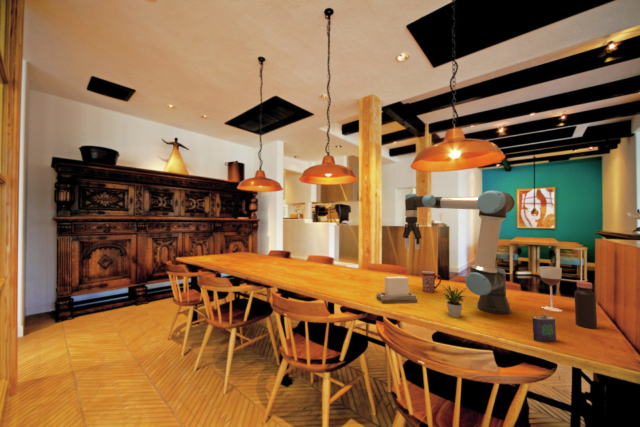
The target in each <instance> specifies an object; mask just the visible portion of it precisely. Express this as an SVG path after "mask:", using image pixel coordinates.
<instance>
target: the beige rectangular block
mask: <svg viewBox="0 0 640 427" xmlns="http://www.w3.org/2000/svg"><path fill="white" fill-rule="evenodd" d="M384 292H385V296H398V295H408V292H409V278H408V277H407V276H384Z"/></svg>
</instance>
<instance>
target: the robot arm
mask: <svg viewBox="0 0 640 427" xmlns="http://www.w3.org/2000/svg"><path fill="white" fill-rule="evenodd" d="M404 197H405V198H404V199H405V200H404V205H405V206H404V207H405V212H404V214H405V215H404V216H405V224H404V229H403V234H402V237H403V238H404V248H405V249H409V248H410V237H409V236H410V235H411V232H412V233H413V236H414V250H420V246H421V245H420V240H421V239H422V234H421V229H420V226H419V223H418V208H430V209H431V208H433V209H449V210H450V209H453V210H454V209H455V210H457V209H459V210H476V211H477V210H478V216H479V218H480V219H481V220H480V227H479V235H478V240H477V248H476V253H475V259H474V264H471V265H470V268H469V269H470V271H469V273H468V274H467V275H466V276H465V279H464V282H465V286H466V288H467V289H468V290H469V291H470V292H471V293H472V294H474V295H478V296H479V297H478V300H477V303H476V305H477V309H479V310H481V311H484V312H487V313H491V314H498V315H509V314H511V312H512V311H511V306H510V303H509V301H508V299H507V281H506V280H507V275H506V271H505V269H504V268H497V267H496V268H495V266H496V258H497V252H498V247H499V246H498V245H499V239H500V233H501V227H502V222H503V221H504V220H506V219H507V214H508V213H510V212H511V211H512V210H514V207H515V205H516V202H515V198H514V197H513V195H511V194H509V193H507V192H505V191H504V192H503V191H499V190H486V191H485V192H482V193H481V194H480V195H479V196H434V195H433V194H424V195H417V193H407V194H405V196H404Z"/></svg>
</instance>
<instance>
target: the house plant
mask: <svg viewBox="0 0 640 427" xmlns="http://www.w3.org/2000/svg"><path fill="white" fill-rule="evenodd" d="M456 284H457V283H455V284H454V287H453V290H452V289H451V286H450V285H449V284H447V285H446V287H447V288H446V287H444V285H442V284H441V283H440V284H439V286H440V285H441V286H442V287H441V289H442V290H443V291H444V292H445V293H443V294H442V296H444V298H445V300H448V301H446V307H447V312H448V315H449V316H450V317H452V318H461V313H462V308H463V304H462V303H464V298H465V297H467V296H464V295H461V294H462V293H463V292H464V291H465V290H466V289H468V288H467V287H466V288H463V289H462V290H460V292H459V286H457V287H456ZM455 287H456V288H455ZM460 301H461V302H460Z"/></svg>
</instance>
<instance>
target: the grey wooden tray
mask: <svg viewBox="0 0 640 427" xmlns="http://www.w3.org/2000/svg"><path fill="white" fill-rule="evenodd" d="M376 299H377V300H378V301H379V302H381V303H382V304H384V305H387V304H390V305H391V304H418V299H417V295H416V294H413V293H412V292H410V291H408V295H398V296H385V291H384V292H382V291H381V292H377V294H376Z"/></svg>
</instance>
